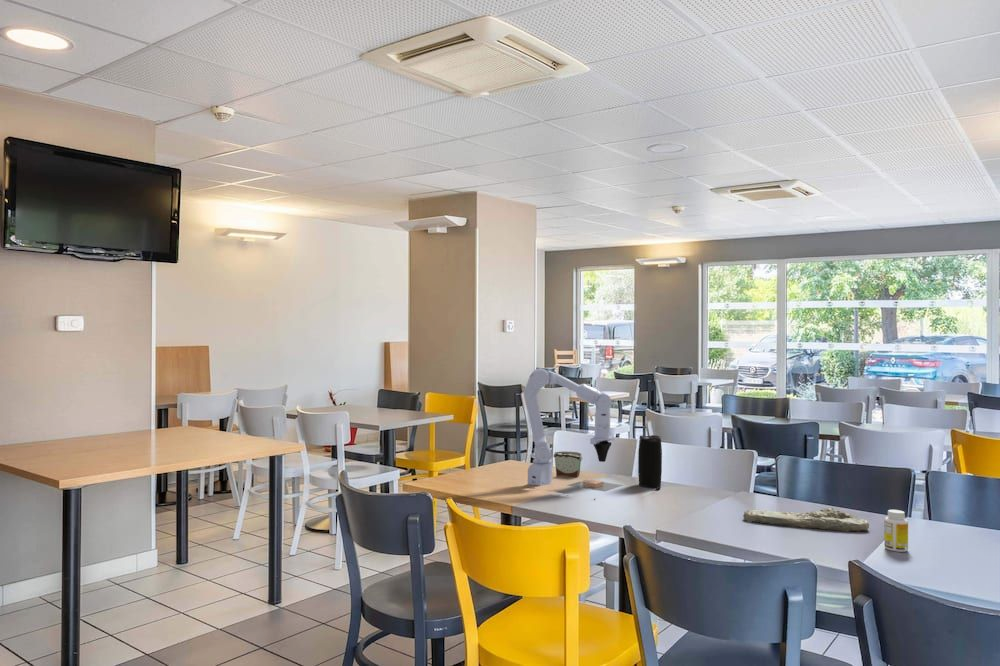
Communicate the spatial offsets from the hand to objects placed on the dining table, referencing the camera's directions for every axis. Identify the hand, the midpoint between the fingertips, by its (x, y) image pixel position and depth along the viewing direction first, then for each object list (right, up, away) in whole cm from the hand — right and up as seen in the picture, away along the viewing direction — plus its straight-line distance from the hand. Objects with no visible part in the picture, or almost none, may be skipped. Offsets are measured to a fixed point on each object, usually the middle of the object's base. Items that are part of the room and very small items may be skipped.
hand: (602, 461), depth 268 cm
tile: (-2, -7, -3) cm, 8 cm away
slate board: (-3, -9, -4) cm, 11 cm away
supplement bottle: (+68, -10, -78) cm, 104 cm away
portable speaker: (+17, -10, -4) cm, 20 cm away
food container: (-10, -10, +16) cm, 21 cm away
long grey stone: (+54, -10, -53) cm, 76 cm away
